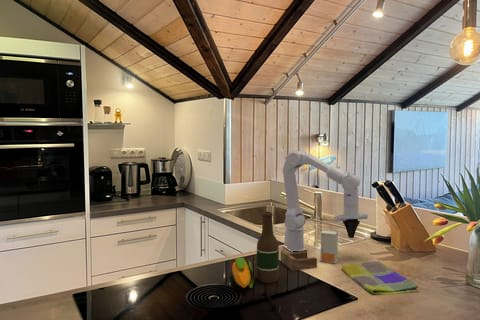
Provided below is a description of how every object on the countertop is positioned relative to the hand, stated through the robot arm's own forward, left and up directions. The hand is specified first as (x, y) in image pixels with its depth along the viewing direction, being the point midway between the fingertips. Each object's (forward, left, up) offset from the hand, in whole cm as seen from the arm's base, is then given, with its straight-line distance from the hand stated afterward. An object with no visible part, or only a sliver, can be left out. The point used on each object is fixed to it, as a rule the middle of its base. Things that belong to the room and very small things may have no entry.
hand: (351, 237), depth 150 cm
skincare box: (0, -10, -9) cm, 14 cm away
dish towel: (+22, -4, -10) cm, 24 cm away
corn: (+10, -49, -9) cm, 51 cm away
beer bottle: (+10, -40, -9) cm, 42 cm away
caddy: (0, -23, -9) cm, 24 cm away
